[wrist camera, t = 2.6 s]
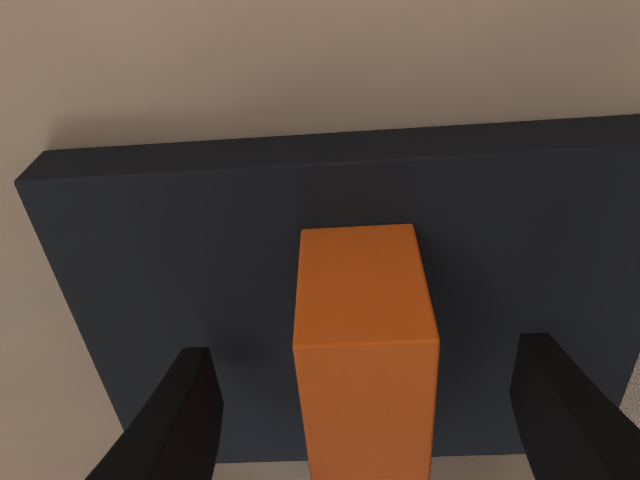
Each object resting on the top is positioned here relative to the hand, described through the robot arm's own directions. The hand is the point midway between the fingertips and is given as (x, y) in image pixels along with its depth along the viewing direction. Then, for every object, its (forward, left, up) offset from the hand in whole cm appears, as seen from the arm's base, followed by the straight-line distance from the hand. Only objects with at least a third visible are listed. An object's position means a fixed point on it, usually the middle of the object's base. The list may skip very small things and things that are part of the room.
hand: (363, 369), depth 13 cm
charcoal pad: (0, -2, -2) cm, 3 cm away
